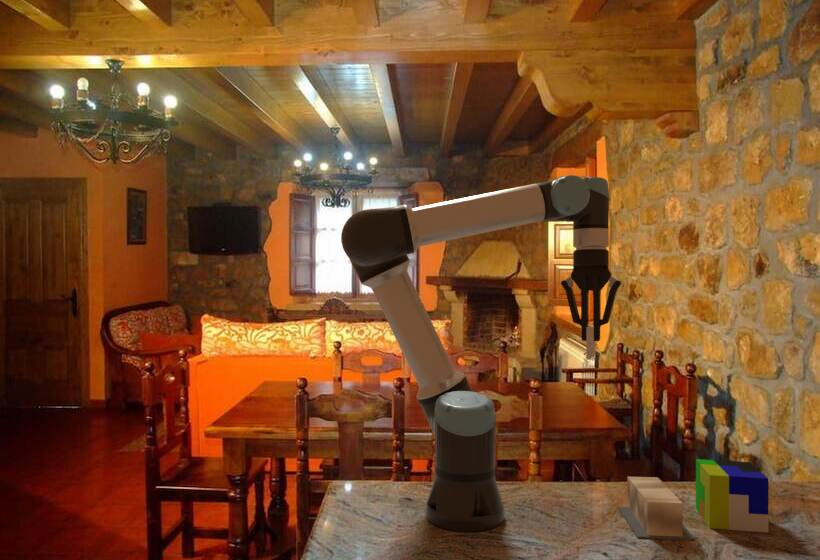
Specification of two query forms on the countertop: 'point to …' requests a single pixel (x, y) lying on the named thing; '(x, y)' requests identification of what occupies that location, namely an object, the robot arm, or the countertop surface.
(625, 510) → the rubber mat
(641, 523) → the beech block
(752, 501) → the puzzle toy
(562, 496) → the countertop surface
